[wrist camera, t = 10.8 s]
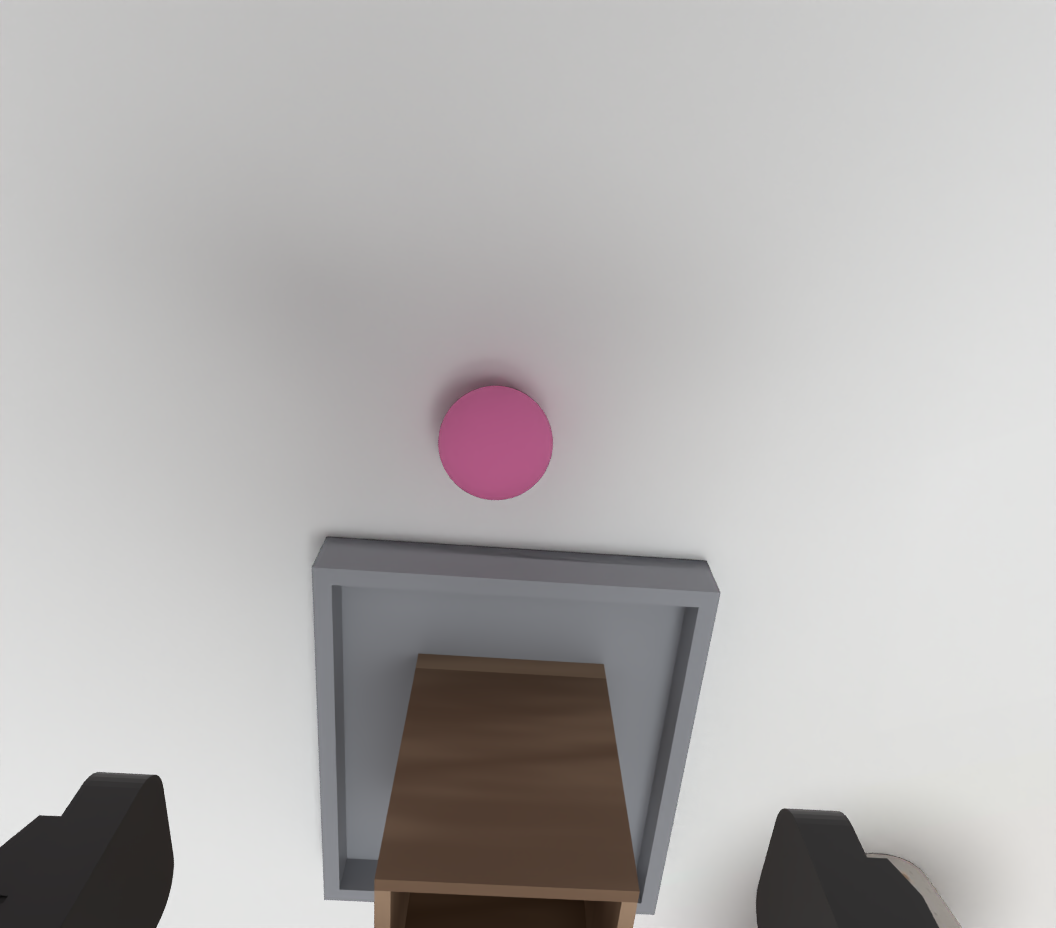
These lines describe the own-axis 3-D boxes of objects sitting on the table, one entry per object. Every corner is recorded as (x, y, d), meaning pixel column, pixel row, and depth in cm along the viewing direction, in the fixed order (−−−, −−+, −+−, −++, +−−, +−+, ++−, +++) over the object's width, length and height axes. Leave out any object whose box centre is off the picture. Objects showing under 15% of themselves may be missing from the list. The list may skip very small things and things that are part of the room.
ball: (445, 368, 24) (434, 403, 21) (555, 375, 24) (560, 412, 21) (441, 468, 25) (430, 516, 22) (546, 475, 25) (549, 523, 22)
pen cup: (418, 653, 27) (374, 879, 19) (603, 664, 28) (639, 891, 19) (414, 793, 30) (374, 1045, 22) (584, 802, 30) (608, 1054, 22)
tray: (326, 536, 26) (311, 567, 24) (706, 560, 27) (720, 592, 25) (335, 855, 32) (324, 899, 30) (646, 870, 33) (654, 914, 31)
